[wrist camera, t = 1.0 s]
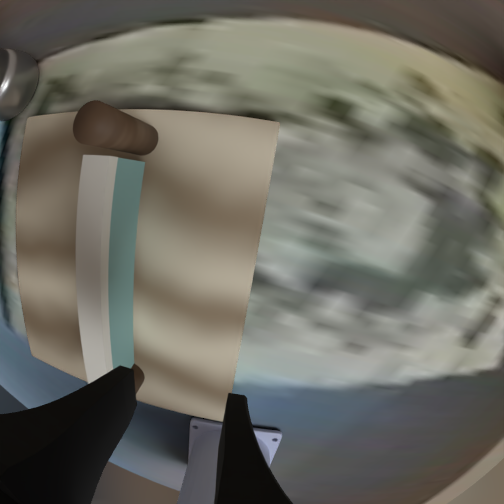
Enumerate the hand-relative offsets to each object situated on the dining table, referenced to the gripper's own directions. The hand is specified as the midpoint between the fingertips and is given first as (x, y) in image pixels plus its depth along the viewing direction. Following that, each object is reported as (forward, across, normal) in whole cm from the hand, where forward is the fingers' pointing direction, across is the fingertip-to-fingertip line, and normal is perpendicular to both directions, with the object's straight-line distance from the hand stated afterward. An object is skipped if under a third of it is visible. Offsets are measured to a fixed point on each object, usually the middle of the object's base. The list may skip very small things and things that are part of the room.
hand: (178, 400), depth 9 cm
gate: (+8, +6, -2) cm, 10 cm away
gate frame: (+9, +8, -1) cm, 12 cm away
